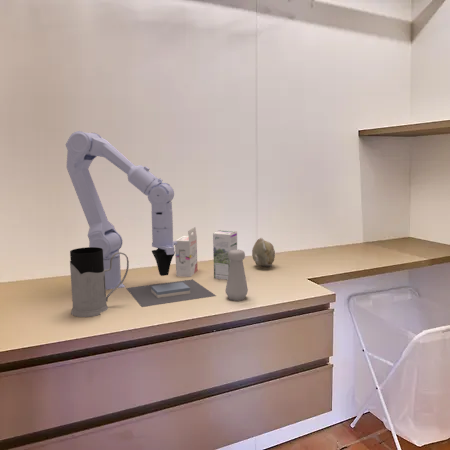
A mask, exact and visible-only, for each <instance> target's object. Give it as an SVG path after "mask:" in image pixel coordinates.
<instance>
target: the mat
mask: <svg viewBox="0 0 450 450" xmlns="http://www.w3.org/2000/svg"><path fill="white" fill-rule="evenodd" d="M180 282H183V283H184V284H186V285H187V286H188V287H190V293H189V294H182V295H175V296H168V297H161V298H157V297H156V296H155V295H154V294H153V293H152V291H151V286H157V285H165V284H172V283H180ZM125 288H126V290H127V291H128V292H129V293H130V295H131V296H132V297H133V298H134V300H135V301H136V302H137V303H138V304H139V306H140V307H141V308H143V307H144V308H145V307H151V306H157V305H158V306H159V305H165V304H166V305H167V304H171V303H179V302H184V301H185V302H186V301H192V300H199V299H205V298H212V297H217V295H216V294H214V293H213V292H212V291H210V290H208V289H207V288H206V287H205V286H203V285H202V284H200V283H199V282H197V281H196V280H194V279H193V278H192V279H184V280H177V281H170V282H164V283H163V282H161V283H156V284H147V285H138V286H133V287H131V286H130V287H125Z"/></svg>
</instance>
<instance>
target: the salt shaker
mask: <svg viewBox="0 0 450 450" xmlns="http://www.w3.org/2000/svg"><path fill="white" fill-rule="evenodd" d="M245 258H246V254H245V251H244V250H242V249H237V250H231V251H229V253H228V259H229V260H231V261H230V267H229V273H228V279H227V280H226V286H225V289H224V290H225V295H226V296H227V298H228V299H229V300H230V301H235V302H236V301H238V302H239V301H243V300H245V298H246V297H247V294H248V291H249V287H248V284H247V282H248V281H247V278H246V273H245V267H244V261H243V260H245Z"/></svg>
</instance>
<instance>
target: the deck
mask: <svg viewBox="0 0 450 450" xmlns="http://www.w3.org/2000/svg"><path fill="white" fill-rule="evenodd" d="M151 291H152V293H153V294H154V295H155V296H156V297H157V298H161V297H168V296H175V295H182V294H189V293H190V287H188V286H187V285H186V284H184V283H183V282H180V283H172V284H165V285H157V286H151Z"/></svg>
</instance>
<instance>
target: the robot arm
mask: <svg viewBox="0 0 450 450" xmlns="http://www.w3.org/2000/svg"><path fill="white" fill-rule="evenodd" d="M65 147H66V150H67V155H66V169H67V172H68V176H69V177H70V181H71V183H72V186H73V187H74V191H75V194H76V196H77V199H78V200H79V203H80V206H81V208H82V211H83V214H84V216H85V219H86V222H87V225H88V226H89V228H88V232H87V237H88V240H89V243H88V247H97V248H102V249H103V262H104V270H107V269H109V268H110V260H111V257H112V256H113V255H114V254H115V253H117V252H120V250H121V248H122V246H123V238H122V235H121V234H120V233H119V232H118V231H117V230H116V229H115V225H113V224H112V223H111V222H110V221H109V220H108V217H107V214H106V211H105V210H104V207H103V204H102V202H101V199H100V196H99V194H98V192H97V188H96V186H95V183H94V180H93V178H92V176H91V172H90V170H89V168H90V166H91V165H92V162H93V161H94V160H95V159H96V158H97V157H102V158H104V159H106V160H107V161H109V162H110V163H111V164H113V165H114V166H115V167H117V168H118V169H120V171H122V172H123V173H124V174H126V175H127V176H126V177H127V180H128V182H129V183H130V184H131V185H133V186H134V187H135V188H136V189H138V190H139V191H140V192H141V193H142V194H143V195H145V196H147V199H148V201H149V203H150V204H151V233H152V234H151V236H152V237H151V238H152V240H151V241H152V242H151V247H153V248H156V249H154V250H151V253H152V254H153V255H152V256H153V257H154V259H155V261H156V265H157V270H158V273H159V276H160V277H163V276H169V272H170V268H171V265H172V263H171V262H172V260H173V257H174V256H175V245H177V242H176V241H175V240H174V225H173V224H174V223H173V222H174V220H173V216H174V215H173V204H172V203H173V199H174V196H175V191H174V189H173V187H172V186H171V185H170V184H169V183H168V182H163V179H162V178H161V177H160V178H159V177H157V176H155V174H153V173H152V172H151V171H150V168H149V167H148V166H147V165H142V164H139V165H135V164H134V163H133V162H132V161H130V159H128V158H127V157H126V156H125V155H124V154H123V153H122V152H121V151H119V150H118V149H117V148H116V147H115V146H114V145H113V144H111V142H109V141H108V140H107V139H106V138H103V137H102V136H101V135H100V134H98V132H97V133H96V132H85V131H82V130H81V131H80V130H76V131H74V132H73V133H71V134H70V136H69V138H68V139H67V142H66V143H65ZM121 270H122V269H121V254H117V255H115V256H114V258H113V260H112V268H111V270H109V271H105V286H106V291H107V290H113V289H114V288H115V287H116V286H117V285H118V284H119V283H120V282H121V281H122V275H121V273H122V272H121ZM122 288H126V286H125V285H124V282H123V283H122V284H121V285H120V286H119V287H118V288H117V289H122Z"/></svg>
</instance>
